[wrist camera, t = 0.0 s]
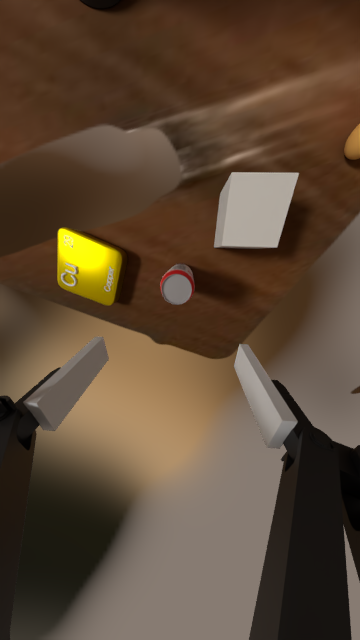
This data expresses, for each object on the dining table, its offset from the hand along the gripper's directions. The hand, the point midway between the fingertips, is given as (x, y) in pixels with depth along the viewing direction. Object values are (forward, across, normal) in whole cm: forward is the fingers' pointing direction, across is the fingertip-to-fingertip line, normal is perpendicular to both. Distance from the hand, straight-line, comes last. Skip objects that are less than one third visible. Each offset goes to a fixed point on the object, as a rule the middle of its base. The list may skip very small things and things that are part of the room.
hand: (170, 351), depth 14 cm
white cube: (+28, +13, +15) cm, 34 cm away
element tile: (+29, -23, +4) cm, 37 cm away
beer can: (+28, 0, +3) cm, 28 cm away
